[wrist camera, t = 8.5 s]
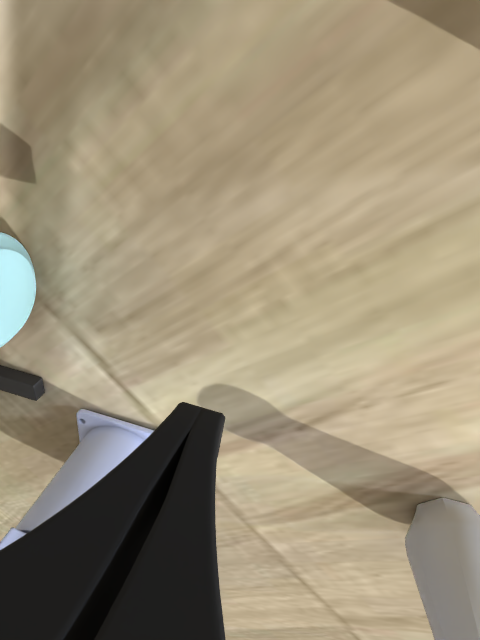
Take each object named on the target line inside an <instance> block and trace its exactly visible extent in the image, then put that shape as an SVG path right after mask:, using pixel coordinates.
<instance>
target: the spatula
mask: <svg viewBox="0 0 480 640" xmlns="http://www.w3.org/2000/svg"><path fill="white" fill-rule="evenodd" d="M0 390H2V391H6V392H9V393H12V394H15V395H19V396H22V397H25V398H28V399H31V400H35V401H37V400H38V399H39V398H40V397H41V396H42V395H43V394H44V393H45V391H44V386H43V380H42V378H40V377H37V376H34V375H31V374H27V373H24V372H21V371H17V370H14V369H11V368H7V367H4V366H1V365H0Z"/></svg>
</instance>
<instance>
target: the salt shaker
mask: <svg viewBox="0 0 480 640" xmlns="http://www.w3.org/2000/svg"><path fill="white" fill-rule="evenodd" d="M405 546H406V551H407V556H408V559H409V563H410V566H411V569H412V572H413V575H414V578H415V581H416V584H417V587H418V590H419V593H420V596H421V599H422V602H423V605H424V608H425V611H426V614H427V617H428V621H429V624H430V627H431V630H432V633H433V636H434V639H435V640H480V515H479V514H478V513H477V512H476V510H475V509H474V508H473V507H472V506H471V505H469V504H466V503H462V502H458V501H454V500H451V499H447V498H443V497H442V498H439V499H435V500H432V501H428V502H425V503H421V504H418V505H417V508H416V513H415V515H414V518H413V520H412V523H411V525H410V527H409V530H408V532H407V535H406V537H405Z"/></svg>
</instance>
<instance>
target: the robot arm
mask: <svg viewBox="0 0 480 640" xmlns="http://www.w3.org/2000/svg"><path fill="white" fill-rule="evenodd" d="M76 416H77V424H78V432H79V440H80V444H79V445H78V446H77V447H76V449H75V450H74V451H73V453H72V454H71V455H70V457H69V458H68V459H67V461H66V462H65V463H64V465H63V466H62V467H61V468H60V470H59V471H58V472H57V474H56V475H55V476H54V478H53V479H52V480H51V482H50V483H49V484H48V486H47V487H46V488H45V489H44V491H43V492H42V493H41V495H40V496H39V497H38V499H37V500H36V501H35V503H34V504H33V505H32V507H31V508H30V509H29V510H28V512H27V513H26V514H25V516H24V517H23V518H22V520H21V521H20V522H19V524H18V525H17V526H16V528H11V529H10V530H9V531H8V533H7V534H6V535H5V537H4V538H3V539H2V541H1V542H0V640H225V632H224V623H223V615H222V606H221V598H220V589H219V577H218V565H217V550H216V529H215V482H216V463H217V457H218V453H219V447H220V442H221V437H222V432H223V427H224V422H225V416H224V415H223V414H222V413H219V412H216V411H212V410H209V409H205V408H202V407H199V406H195V405H192V404H188V403H185V402H182V403H179V404H178V406H177V407H176V408H175V409H174V410H173V411H172V413H171V414H170V415H169V416H168V417H167V418H166V419H165V420H164V421H163V422H162V423H161V424H160V426H159V427H158V428H157V429H156V430H155V431H154V430H151V429H148V428H144V427H141V426H138V425H135V424H131V423H128V422H125V421H122V420H118V419H115V418H112V417H109V416H105V415H102V414H99V413H95V412H92V411H89V410H86V409H80V410H79V411H78V412H77V413H76Z"/></svg>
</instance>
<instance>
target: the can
mask: <svg viewBox="0 0 480 640" xmlns="http://www.w3.org/2000/svg"><path fill="white" fill-rule="evenodd" d="M35 295H36V280H35V272H34V268H33V264H32V261H31V259H30V256H29V254H28V253H27V251H26V249H25V248H24V247H23V246H22V244H21V243H20V242H18V241H17V240H16V239H15V238H13V237H11V236H10V235H7V234H5V233H1V232H0V347H2V346H3V345H5V344H6V343H7V342H8V341H9V340H11V339H12V338H13V337H14V336H15V334H17V332H18V331H19V330H20V329H21V328H22V327H23V325H24V324H25V322H26V321H27V319H28V317H29V315H30V313H31V311H32V308H33V305H34V301H35Z"/></svg>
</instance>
